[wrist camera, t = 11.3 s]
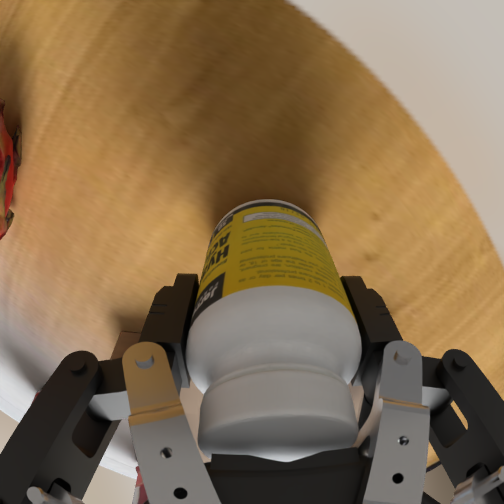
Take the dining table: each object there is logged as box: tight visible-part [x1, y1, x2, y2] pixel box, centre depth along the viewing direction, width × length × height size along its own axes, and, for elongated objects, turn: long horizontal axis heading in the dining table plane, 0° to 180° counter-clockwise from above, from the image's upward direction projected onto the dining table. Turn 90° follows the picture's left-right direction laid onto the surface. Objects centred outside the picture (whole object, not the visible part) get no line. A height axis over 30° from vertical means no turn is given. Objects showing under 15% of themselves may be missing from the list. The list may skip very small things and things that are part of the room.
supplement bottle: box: [185, 199, 362, 462], centre depth 10 cm, size 5×5×10 cm
